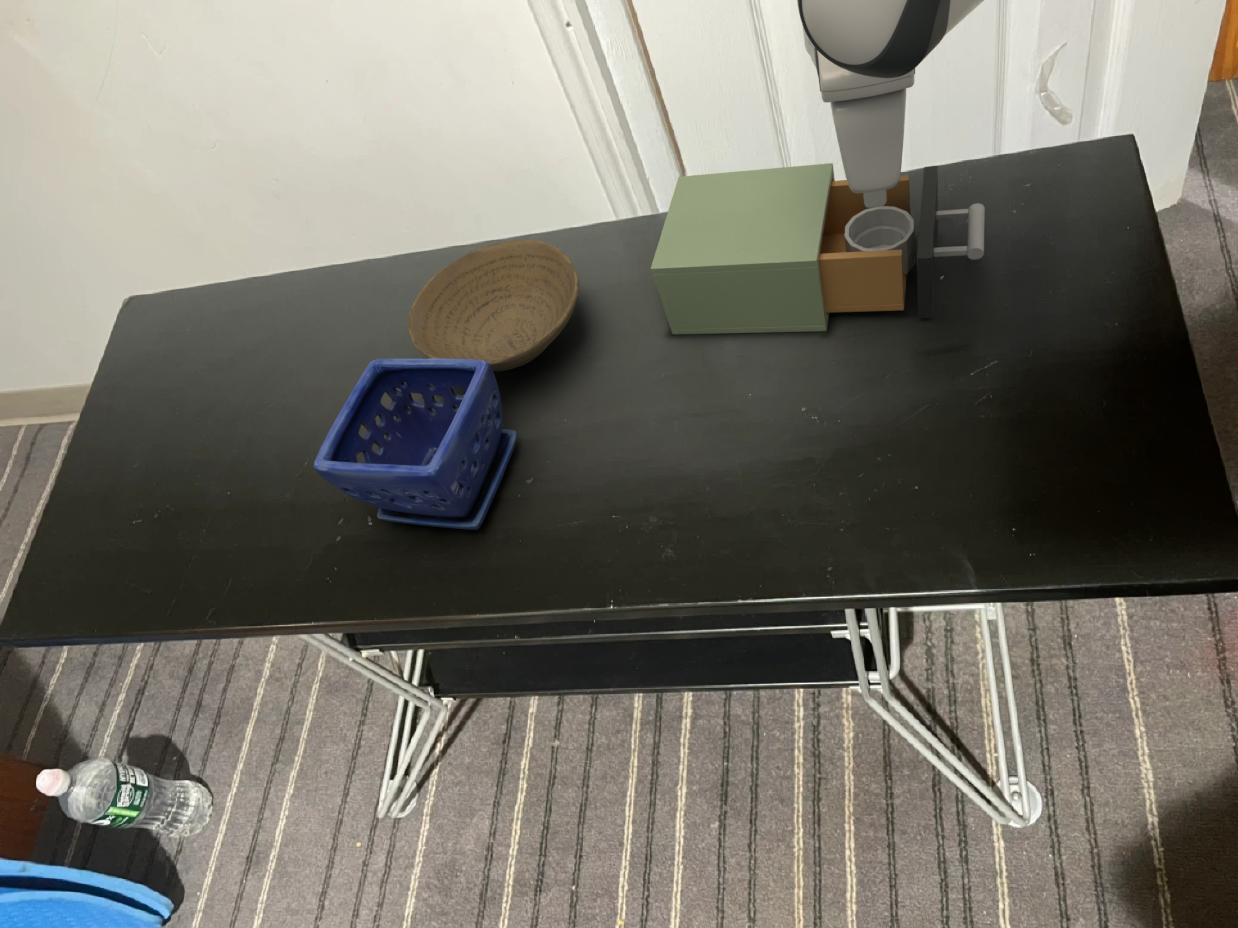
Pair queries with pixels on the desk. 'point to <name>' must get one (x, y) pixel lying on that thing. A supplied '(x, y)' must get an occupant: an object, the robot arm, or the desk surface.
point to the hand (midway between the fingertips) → (872, 166)
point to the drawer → (880, 273)
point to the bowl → (496, 304)
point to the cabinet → (745, 251)
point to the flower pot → (421, 442)
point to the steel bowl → (882, 233)
